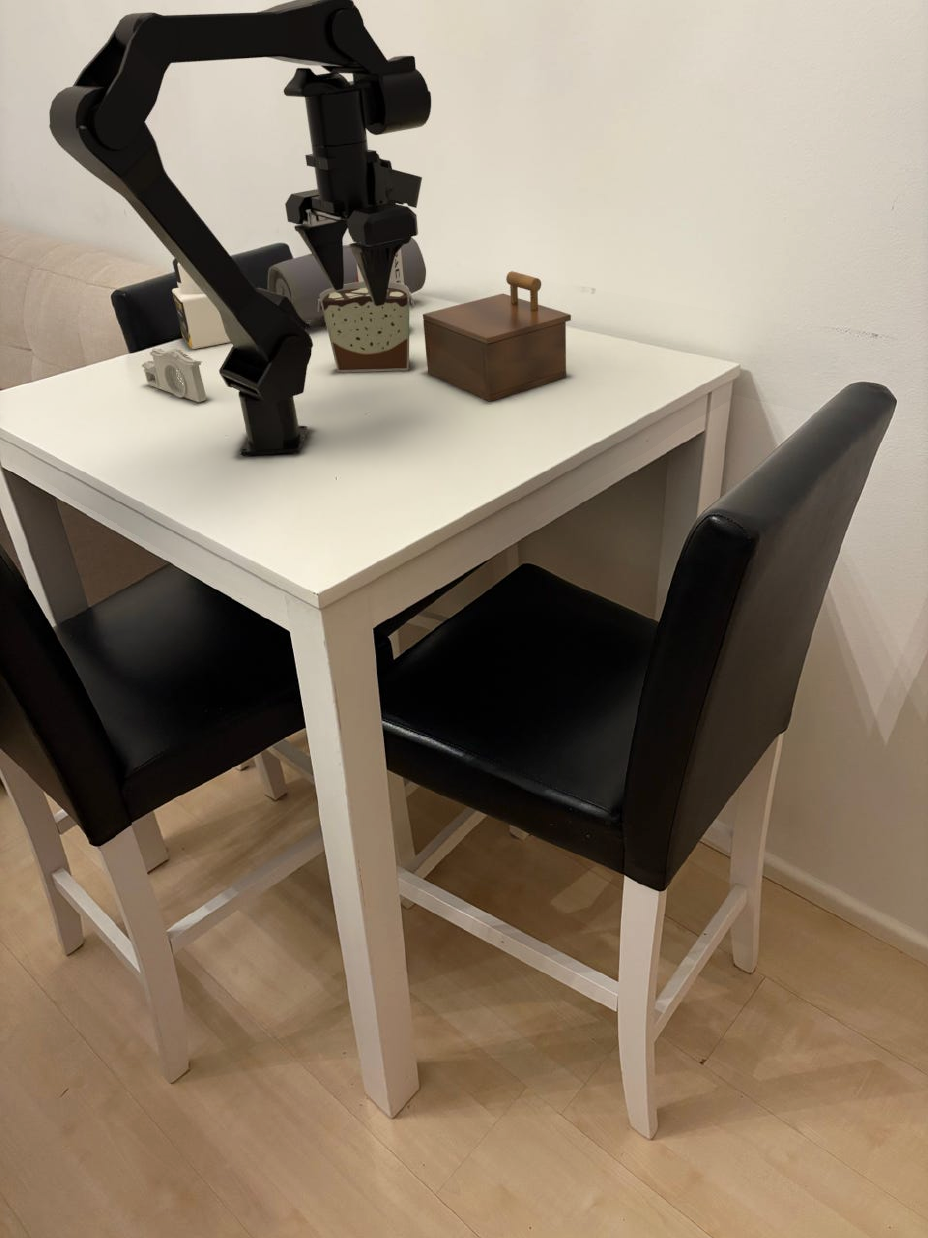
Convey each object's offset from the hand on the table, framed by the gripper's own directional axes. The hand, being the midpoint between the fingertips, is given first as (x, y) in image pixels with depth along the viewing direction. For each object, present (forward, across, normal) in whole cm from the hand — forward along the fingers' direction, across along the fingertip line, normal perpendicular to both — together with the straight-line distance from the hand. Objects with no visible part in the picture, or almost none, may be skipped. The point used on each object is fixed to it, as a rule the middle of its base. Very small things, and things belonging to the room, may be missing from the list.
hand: (358, 296), depth 107 cm
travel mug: (+13, +24, -16) cm, 32 cm away
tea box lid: (+6, -1, -18) cm, 19 cm away
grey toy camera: (+13, +23, +16) cm, 31 cm away
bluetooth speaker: (+13, +36, -17) cm, 42 cm away
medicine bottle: (+13, +41, +4) cm, 43 cm away
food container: (+13, +14, -9) cm, 21 cm away
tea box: (+13, -1, -17) cm, 22 cm away
